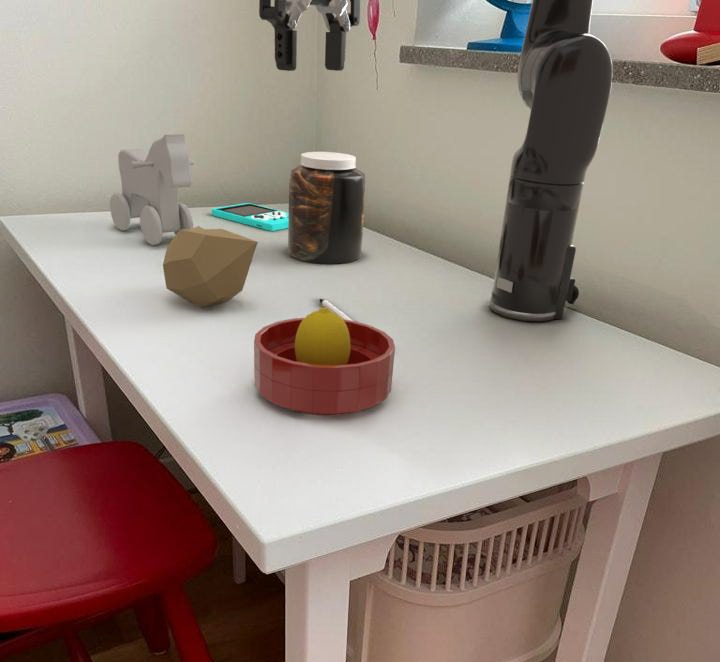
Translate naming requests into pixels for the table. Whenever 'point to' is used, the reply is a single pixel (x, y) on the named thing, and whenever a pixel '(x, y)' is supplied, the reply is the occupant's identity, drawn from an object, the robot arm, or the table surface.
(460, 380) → the table surface
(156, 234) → the pony
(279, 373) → the bowl
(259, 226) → the handheld game console
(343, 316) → the pen
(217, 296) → the low-poly potato
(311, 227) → the jar
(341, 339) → the lemon
